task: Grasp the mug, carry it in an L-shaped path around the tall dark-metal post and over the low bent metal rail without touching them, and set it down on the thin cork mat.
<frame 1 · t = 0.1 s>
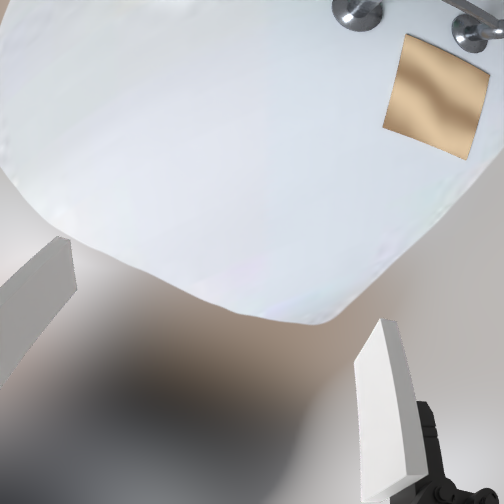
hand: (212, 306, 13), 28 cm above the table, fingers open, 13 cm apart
metal wall bracket: (417, 16, 25), on the table
coaster: (439, 98, 30), on the table
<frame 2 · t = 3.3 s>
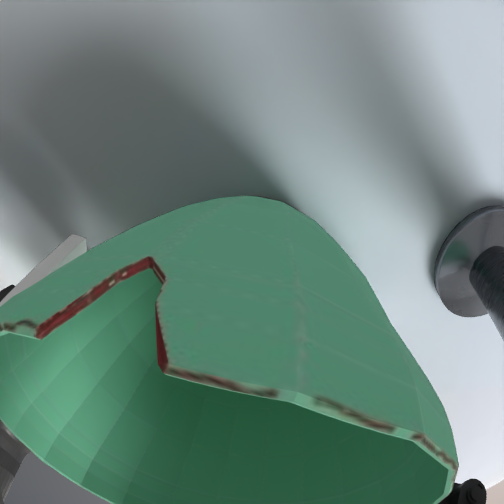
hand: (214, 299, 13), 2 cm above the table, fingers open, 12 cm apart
mug: (214, 273, 14), on the table
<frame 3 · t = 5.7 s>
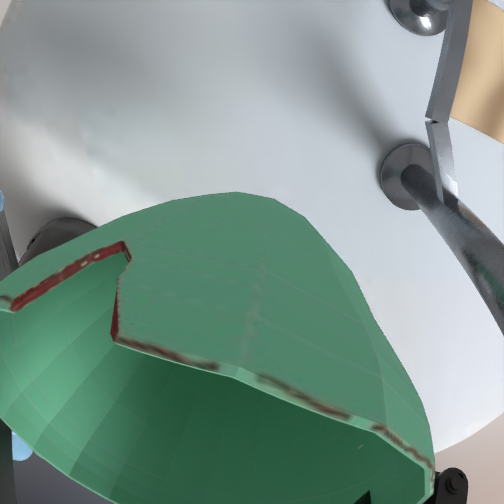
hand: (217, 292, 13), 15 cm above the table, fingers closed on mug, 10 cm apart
mug: (209, 270, 14), point 13 cm above the table, touching gripper
metal wall bracket: (414, 88, 20), on the table
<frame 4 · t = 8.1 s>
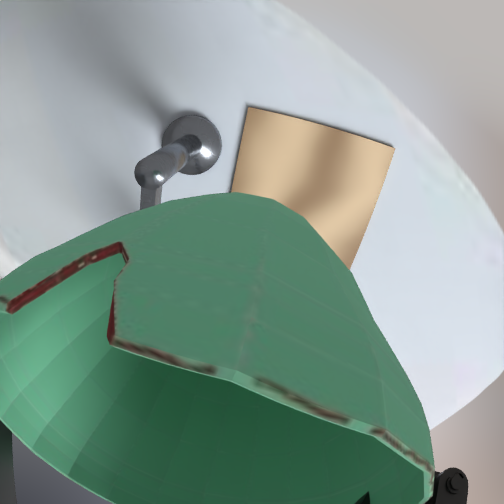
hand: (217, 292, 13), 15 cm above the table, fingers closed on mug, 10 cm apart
mug: (208, 271, 14), point 14 cm above the table, touching gripper
metal wall bracket: (192, 221, 29), on the table
coaster: (304, 194, 26), on the table
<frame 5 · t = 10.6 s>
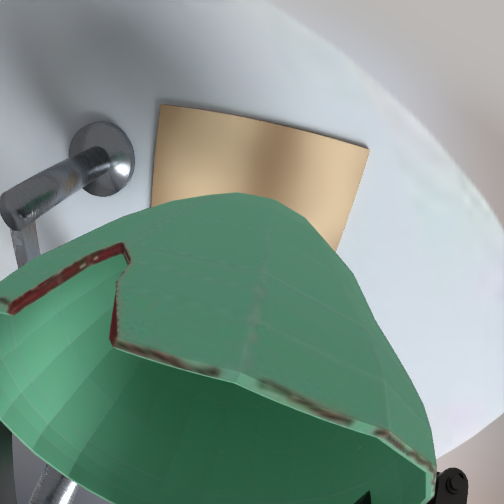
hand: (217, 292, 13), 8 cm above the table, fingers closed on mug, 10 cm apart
mug: (209, 271, 14), point 6 cm above the table, touching gripper
metal wall bracket: (114, 251, 23), on the table
coaster: (244, 217, 20), on the table
when the fingers open (2 cm above the table, at t = 12.6 s): mug moves 2 cm, resting on coaster.
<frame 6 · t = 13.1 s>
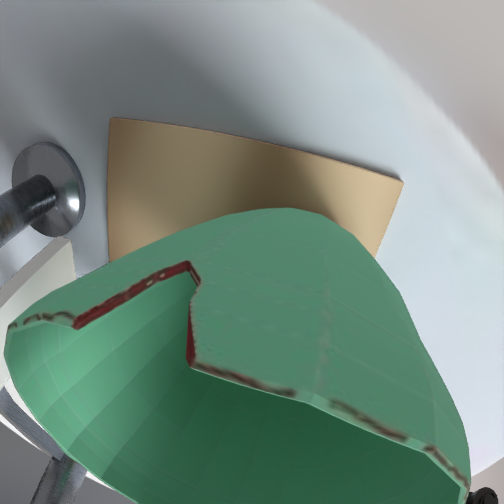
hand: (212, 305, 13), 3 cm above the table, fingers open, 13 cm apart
mug: (253, 283, 15), resting on coaster, touching gripper
metal wall bracket: (75, 297, 18), on the table
coaster: (227, 269, 15), on the table
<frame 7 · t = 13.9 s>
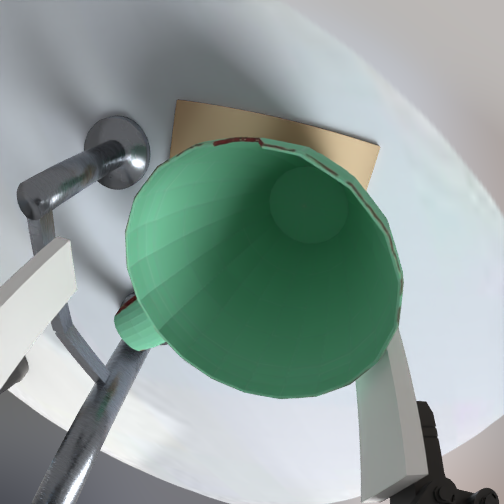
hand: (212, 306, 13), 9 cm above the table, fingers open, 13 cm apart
mug: (277, 221, 20), resting on coaster
metal wall bracket: (128, 243, 23), on the table
coaster: (257, 210, 20), on the table
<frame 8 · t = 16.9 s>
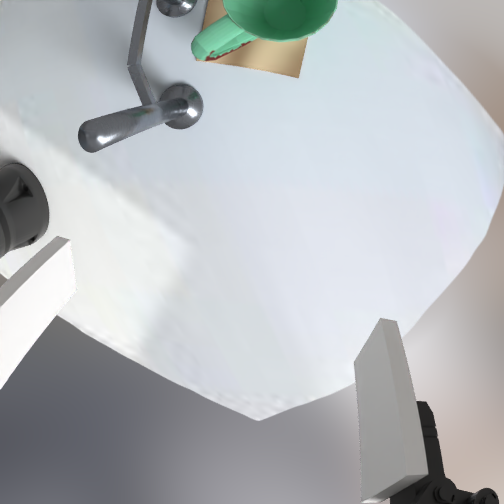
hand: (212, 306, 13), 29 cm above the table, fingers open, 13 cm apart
mug: (267, 24, 29), resting on coaster
metal wall bracket: (174, 51, 32), on the table
coaster: (256, 20, 29), on the table
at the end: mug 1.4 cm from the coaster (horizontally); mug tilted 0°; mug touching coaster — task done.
